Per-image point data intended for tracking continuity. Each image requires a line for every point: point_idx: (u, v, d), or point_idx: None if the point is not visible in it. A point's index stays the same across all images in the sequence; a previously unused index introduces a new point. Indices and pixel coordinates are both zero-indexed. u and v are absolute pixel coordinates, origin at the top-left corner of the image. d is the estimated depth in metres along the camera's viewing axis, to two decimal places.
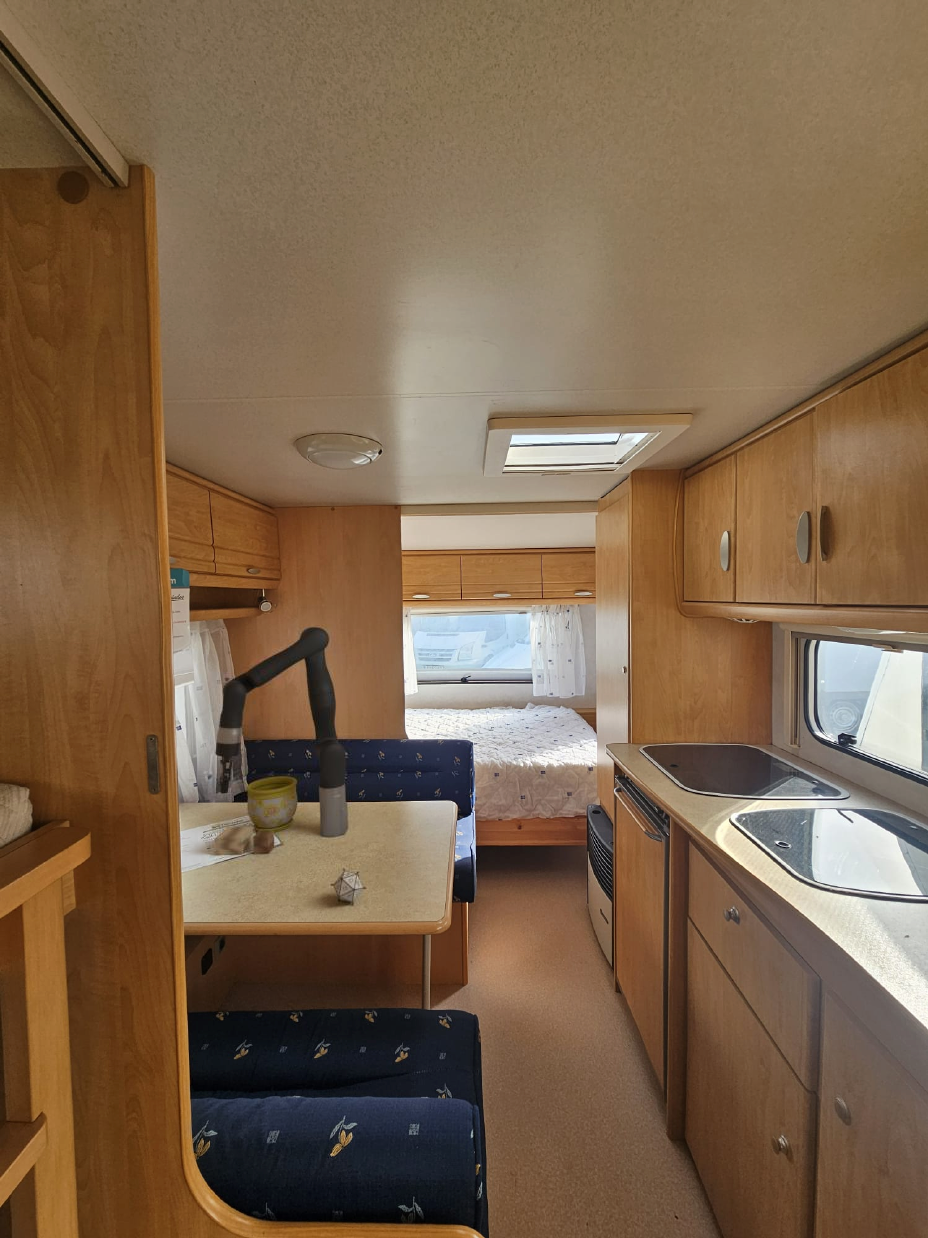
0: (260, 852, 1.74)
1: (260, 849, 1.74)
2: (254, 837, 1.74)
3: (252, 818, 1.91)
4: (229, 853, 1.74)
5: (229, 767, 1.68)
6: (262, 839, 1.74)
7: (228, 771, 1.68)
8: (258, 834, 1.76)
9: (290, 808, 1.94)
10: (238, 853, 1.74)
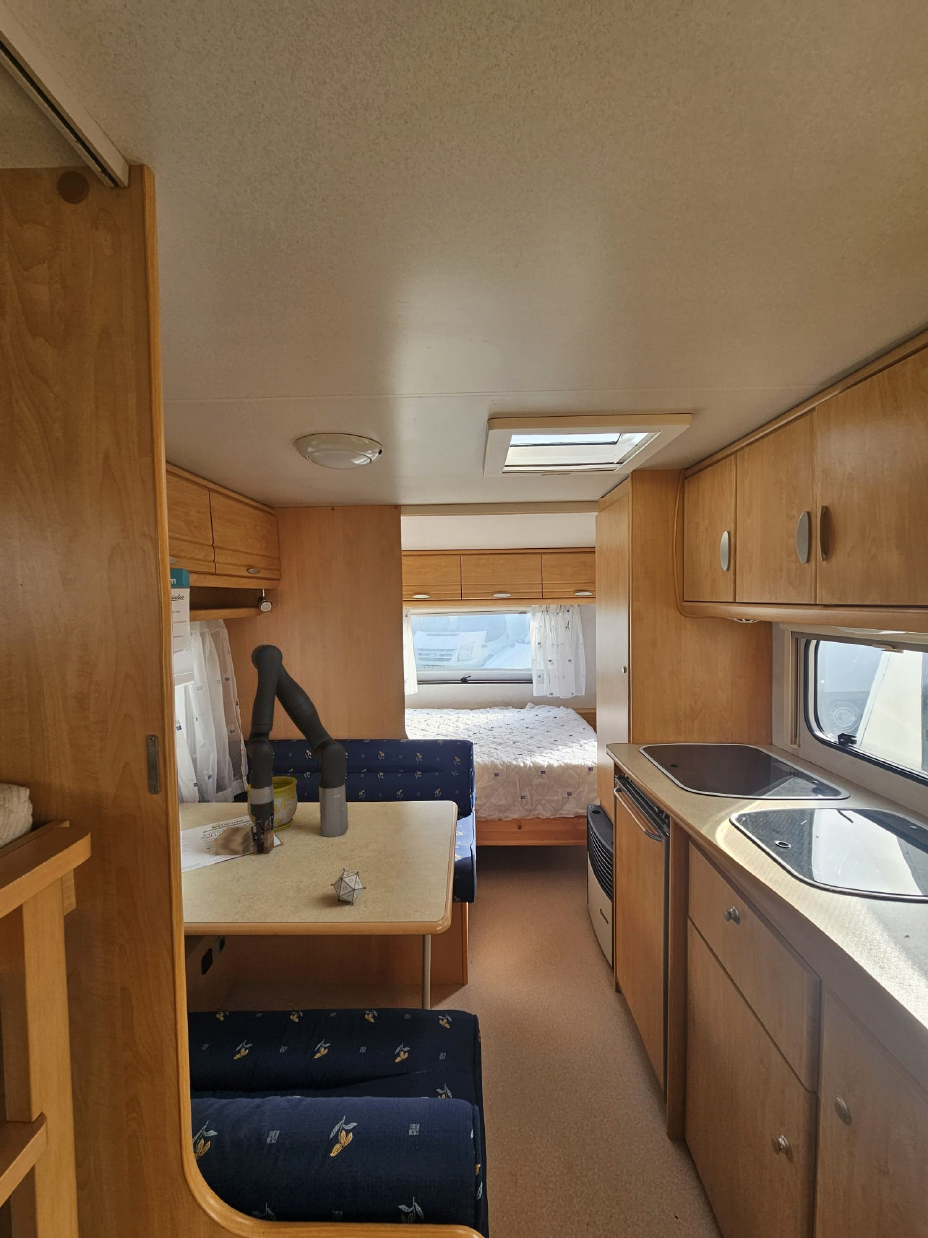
0: None
1: None
2: None
3: (252, 818, 1.91)
4: (229, 853, 1.74)
5: (256, 831, 1.70)
6: None
7: (256, 835, 1.70)
8: None
9: (290, 808, 1.94)
10: (238, 853, 1.74)
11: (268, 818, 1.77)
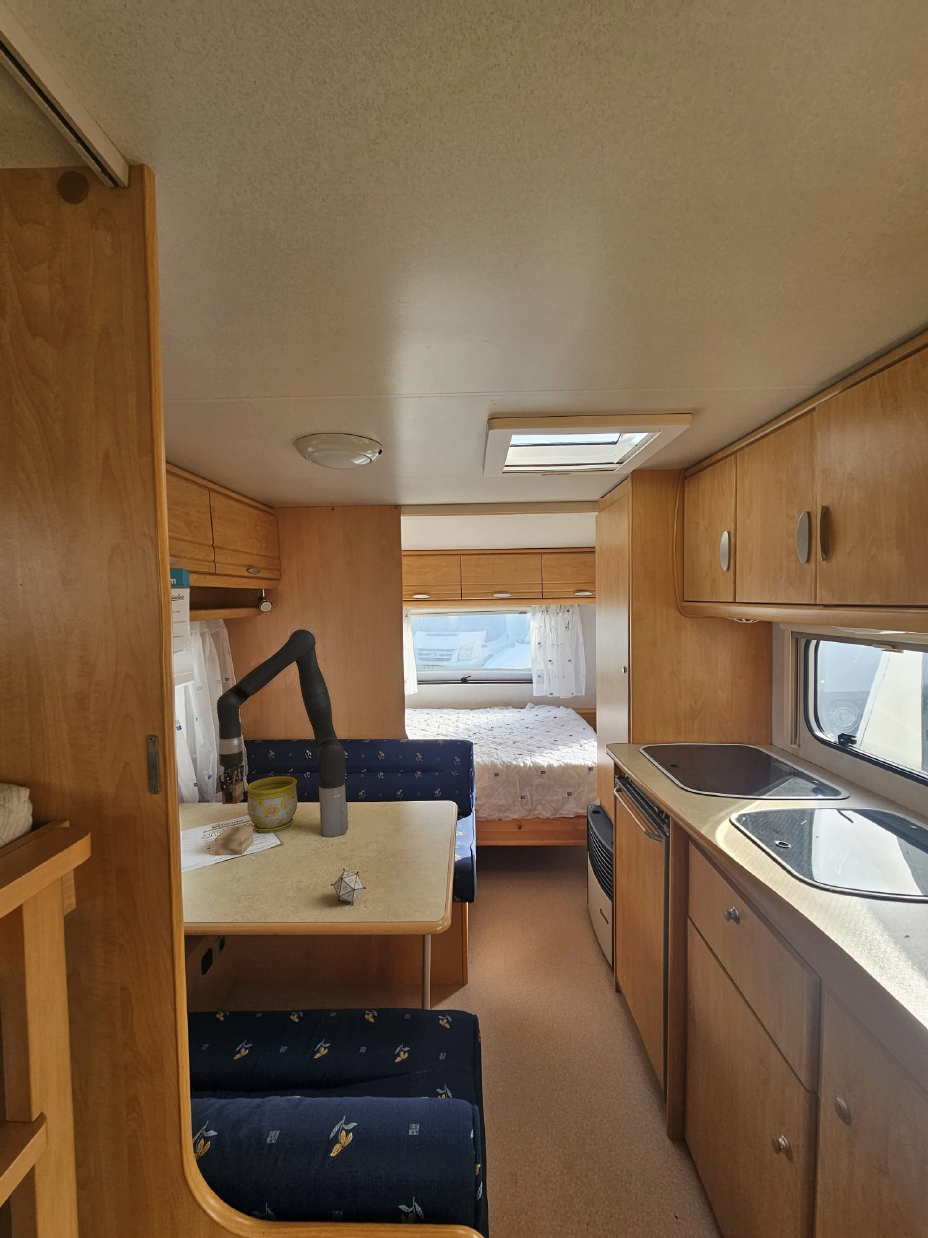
0: None
1: None
2: None
3: (252, 818, 1.91)
4: (229, 853, 1.74)
5: (224, 780, 1.72)
6: None
7: (224, 784, 1.73)
8: None
9: (290, 808, 1.94)
10: (238, 853, 1.74)
11: (237, 769, 1.80)
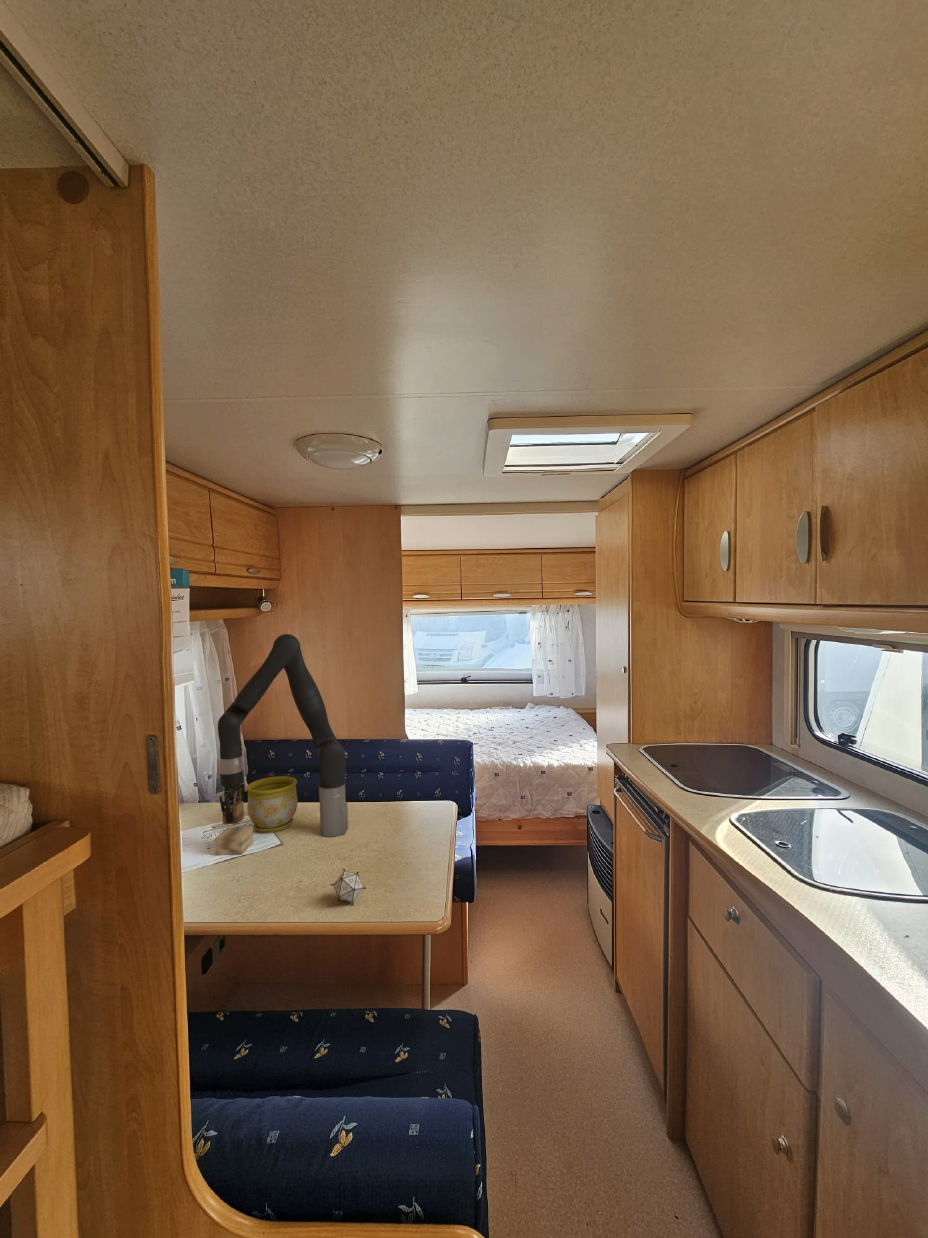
0: None
1: None
2: None
3: (252, 818, 1.91)
4: (229, 853, 1.74)
5: (225, 801, 1.72)
6: None
7: (225, 804, 1.73)
8: None
9: (290, 808, 1.94)
10: (238, 853, 1.74)
11: (238, 789, 1.80)
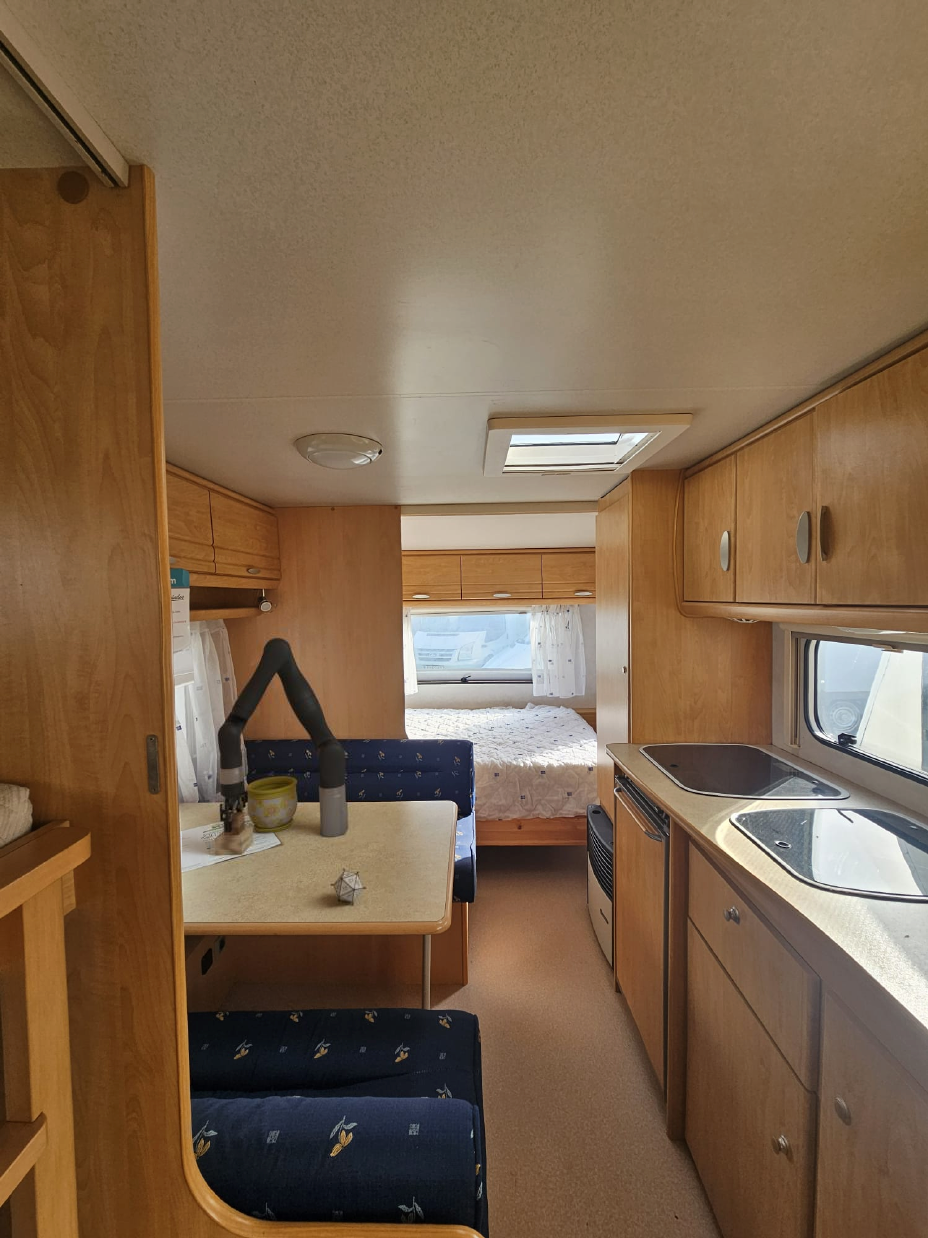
0: (230, 833, 1.76)
1: None
2: None
3: (252, 818, 1.91)
4: (229, 853, 1.74)
5: (225, 808, 1.72)
6: (232, 820, 1.76)
7: (224, 812, 1.72)
8: None
9: (290, 808, 1.94)
10: (238, 853, 1.74)
11: (238, 799, 1.80)
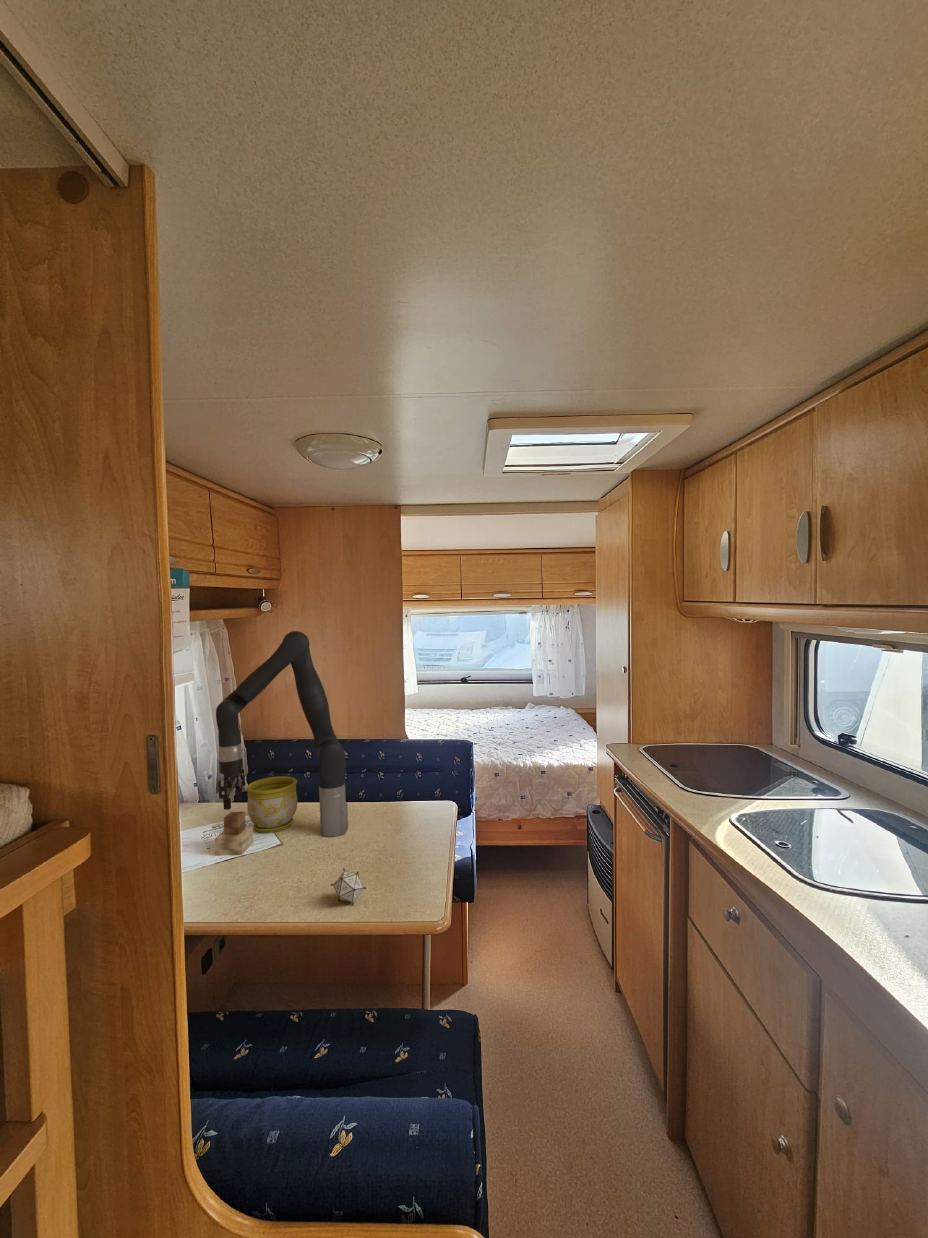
0: (230, 833, 1.77)
1: (230, 829, 1.77)
2: (224, 818, 1.77)
3: (252, 818, 1.91)
4: (229, 853, 1.74)
5: (223, 785, 1.72)
6: (232, 820, 1.77)
7: (223, 789, 1.72)
8: (228, 815, 1.79)
9: (290, 808, 1.94)
10: (238, 853, 1.74)
11: (237, 777, 1.80)
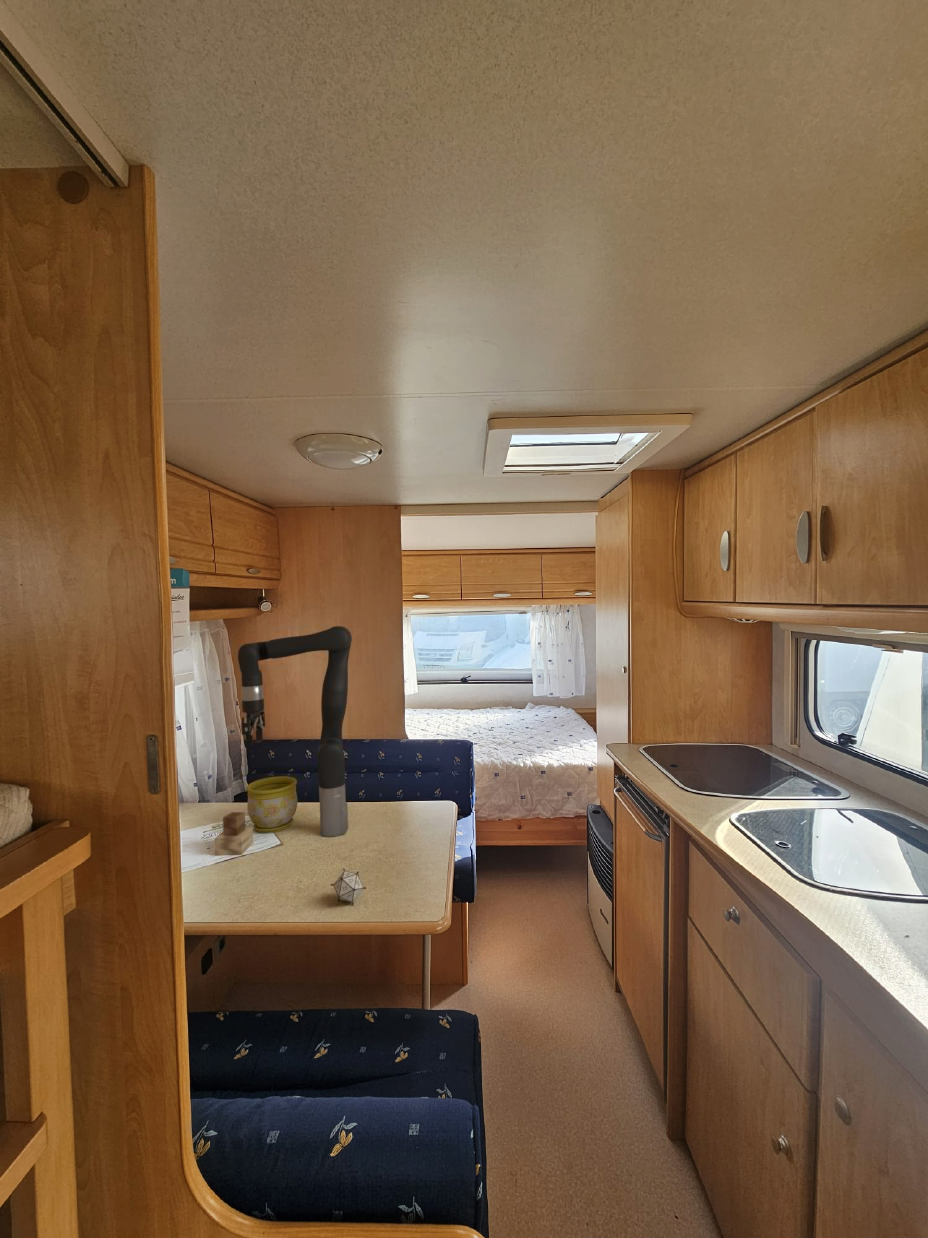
0: (229, 833, 1.76)
1: (229, 830, 1.76)
2: (224, 818, 1.77)
3: (252, 818, 1.91)
4: (229, 853, 1.74)
5: (246, 722, 1.82)
6: (231, 820, 1.76)
7: (246, 725, 1.82)
8: (228, 815, 1.79)
9: (290, 808, 1.94)
10: (238, 853, 1.74)
11: (258, 717, 1.89)
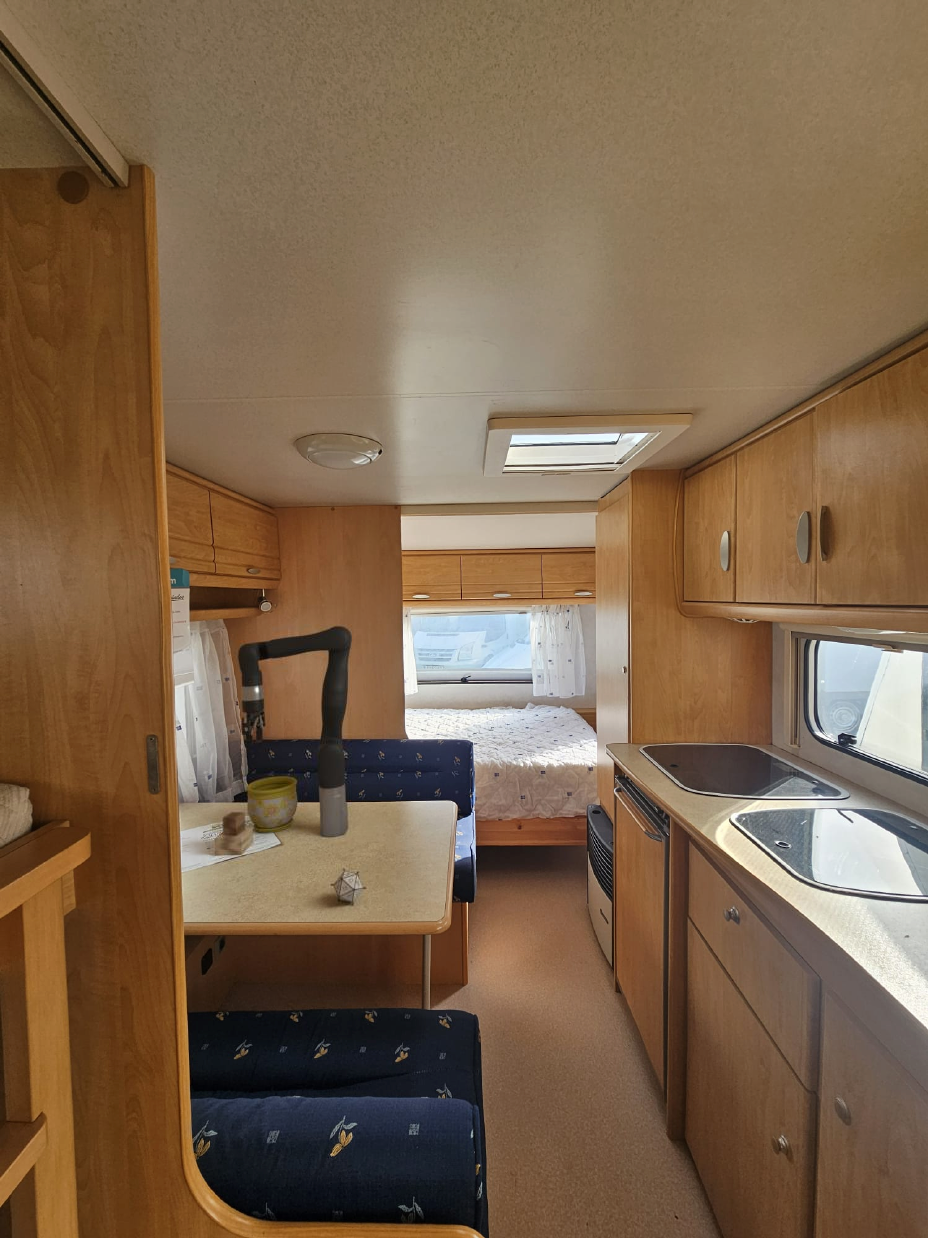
0: (229, 833, 1.76)
1: (229, 830, 1.76)
2: (223, 818, 1.77)
3: (252, 818, 1.91)
4: (229, 853, 1.74)
5: (246, 722, 1.82)
6: (231, 820, 1.76)
7: (246, 725, 1.82)
8: (228, 815, 1.79)
9: (290, 808, 1.94)
10: (238, 853, 1.74)
11: (258, 717, 1.89)
